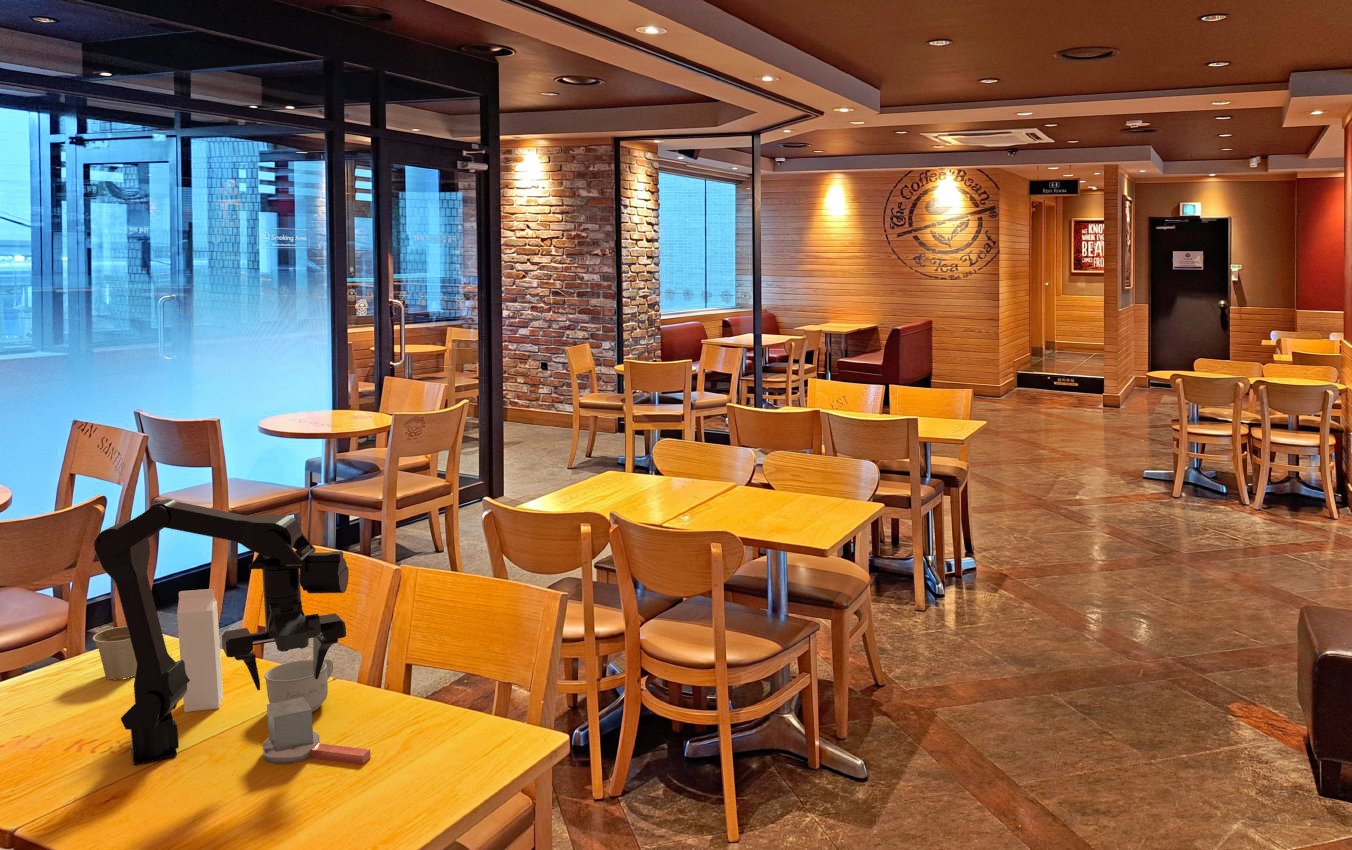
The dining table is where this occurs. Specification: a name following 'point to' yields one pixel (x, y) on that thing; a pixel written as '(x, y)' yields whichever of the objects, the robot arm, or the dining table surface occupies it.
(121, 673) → the flower pot
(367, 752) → the pan with red handle
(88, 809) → the dining table surface
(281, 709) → the matte grey cube
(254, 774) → the dining table surface
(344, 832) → the dining table surface
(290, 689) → the teacup
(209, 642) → the milk
